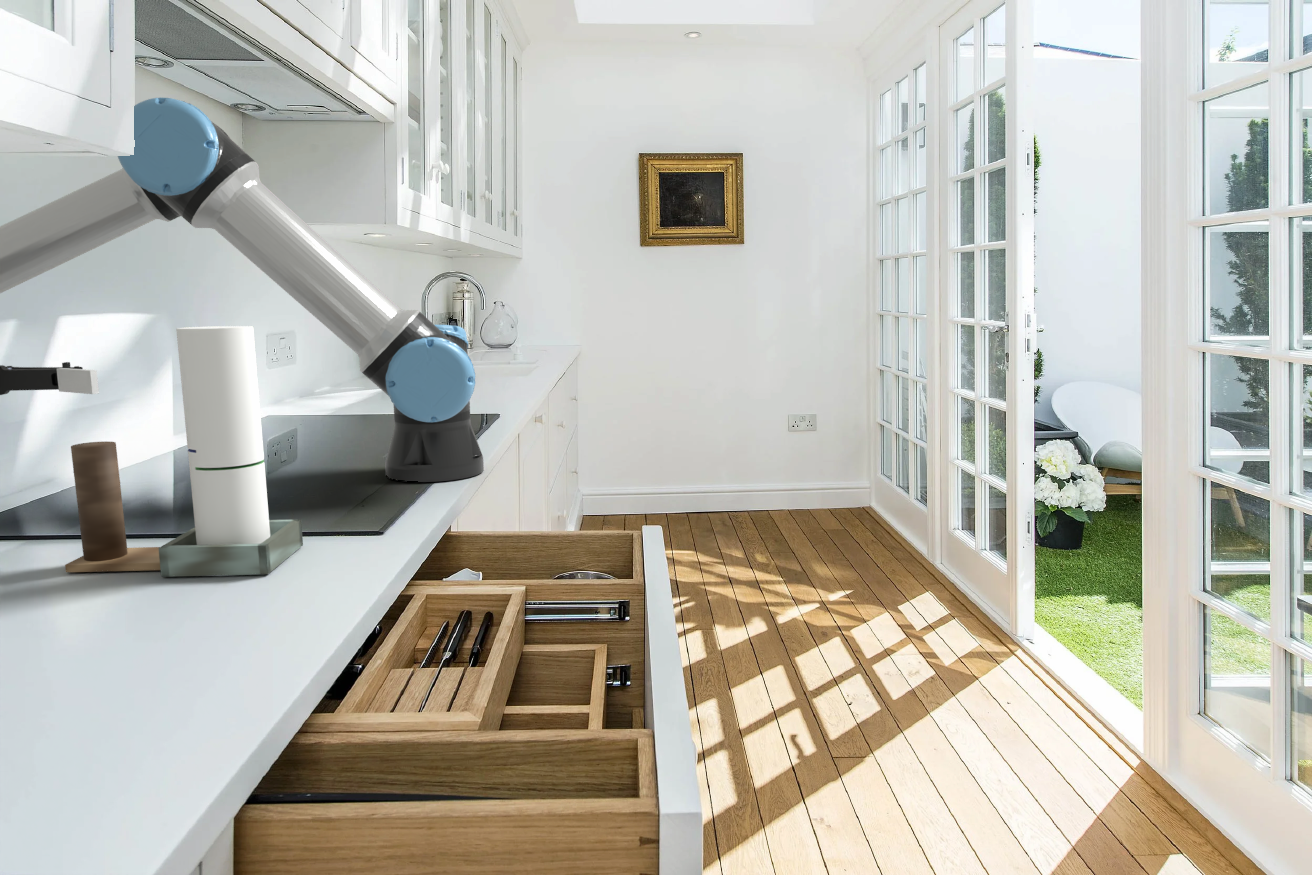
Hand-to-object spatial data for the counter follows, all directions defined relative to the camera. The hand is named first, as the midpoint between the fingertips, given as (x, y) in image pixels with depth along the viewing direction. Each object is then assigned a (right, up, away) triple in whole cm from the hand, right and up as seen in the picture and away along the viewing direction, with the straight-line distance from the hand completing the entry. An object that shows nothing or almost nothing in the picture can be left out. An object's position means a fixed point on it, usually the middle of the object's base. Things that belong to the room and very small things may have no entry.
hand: (31, 387), depth 97 cm
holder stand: (+17, -19, -1) cm, 25 cm away
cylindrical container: (+22, -19, -1) cm, 29 cm away
